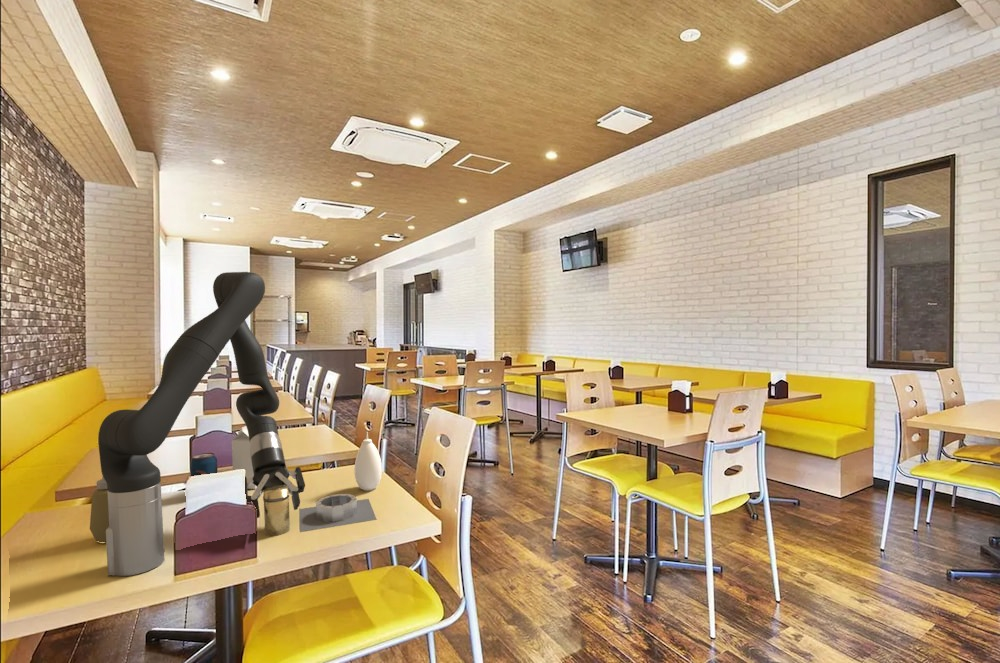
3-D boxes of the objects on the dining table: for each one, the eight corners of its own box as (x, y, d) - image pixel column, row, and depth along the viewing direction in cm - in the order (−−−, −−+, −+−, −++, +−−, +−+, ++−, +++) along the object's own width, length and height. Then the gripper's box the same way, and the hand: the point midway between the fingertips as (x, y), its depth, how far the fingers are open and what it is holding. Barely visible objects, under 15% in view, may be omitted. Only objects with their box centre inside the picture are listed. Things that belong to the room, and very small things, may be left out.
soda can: (186, 499, 150) (184, 458, 149) (201, 491, 157) (199, 452, 156) (208, 499, 149) (207, 458, 149) (223, 491, 156) (221, 452, 156)
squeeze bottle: (97, 535, 126) (93, 462, 126) (136, 529, 129) (133, 458, 129) (84, 549, 119) (80, 471, 118) (126, 542, 122) (122, 466, 121)
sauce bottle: (385, 486, 157) (383, 427, 157) (378, 495, 150) (376, 433, 149) (360, 486, 158) (358, 428, 157) (351, 495, 150) (349, 434, 149)
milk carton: (268, 481, 164) (265, 422, 164) (255, 489, 157) (252, 427, 157) (247, 481, 165) (244, 422, 164) (233, 489, 158) (230, 427, 157)
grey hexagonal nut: (317, 524, 128) (316, 510, 128) (315, 510, 137) (315, 497, 137) (358, 517, 131) (358, 504, 131) (354, 504, 141) (354, 491, 140)
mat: (300, 535, 123) (299, 532, 123) (299, 511, 138) (299, 508, 138) (376, 522, 130) (376, 519, 130) (368, 501, 145) (368, 498, 145)
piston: (263, 541, 121) (262, 494, 120) (265, 531, 126) (263, 487, 126) (290, 536, 123) (288, 491, 122) (290, 527, 128) (288, 483, 128)
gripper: (237, 451, 126) (245, 511, 117) (298, 441, 134) (310, 498, 125) (235, 467, 131) (243, 527, 122) (294, 457, 139) (306, 512, 130)
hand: (277, 512), depth 124 cm, fingers open, 8 cm apart
